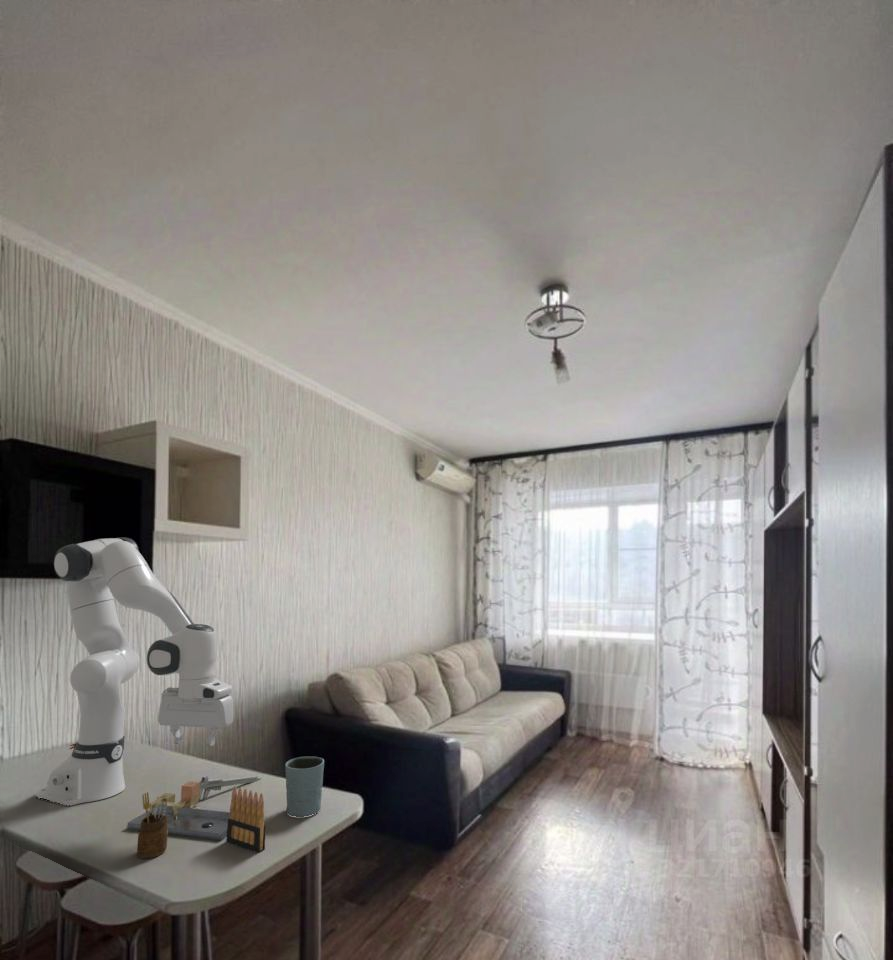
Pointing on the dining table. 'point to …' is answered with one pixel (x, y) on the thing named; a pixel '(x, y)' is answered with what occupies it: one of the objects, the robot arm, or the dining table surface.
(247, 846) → the ammunition clip
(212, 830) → the bolt plate
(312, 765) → the grey-teal cup
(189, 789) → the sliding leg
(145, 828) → the utensil holder
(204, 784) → the caliper
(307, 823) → the dining table surface
